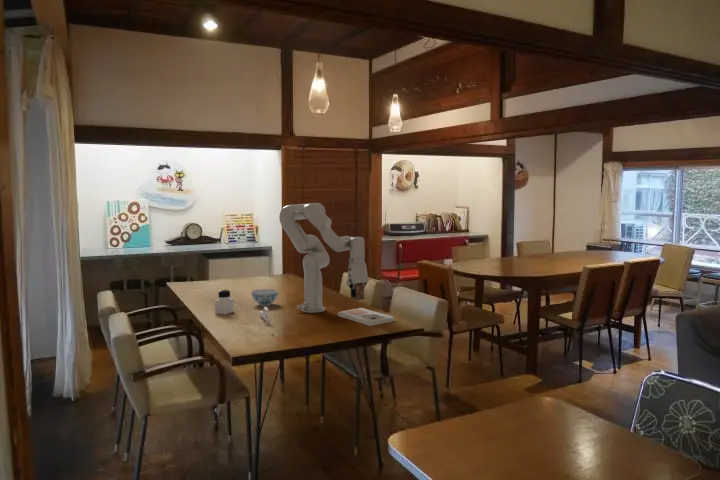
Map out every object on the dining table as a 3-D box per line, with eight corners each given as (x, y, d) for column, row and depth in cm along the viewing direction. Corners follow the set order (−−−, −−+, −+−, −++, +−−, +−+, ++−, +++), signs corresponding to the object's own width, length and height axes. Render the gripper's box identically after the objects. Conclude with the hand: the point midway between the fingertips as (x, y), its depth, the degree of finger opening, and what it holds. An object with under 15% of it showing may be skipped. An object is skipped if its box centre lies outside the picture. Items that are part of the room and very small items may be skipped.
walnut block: (356, 300, 274) (356, 285, 273) (350, 299, 277) (350, 283, 277) (364, 299, 277) (364, 283, 276) (358, 297, 281) (358, 282, 280)
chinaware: (272, 308, 294) (272, 294, 293) (247, 307, 297) (247, 293, 296) (282, 302, 308) (282, 289, 308) (257, 301, 311) (257, 288, 311)
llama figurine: (270, 336, 262) (262, 315, 276) (271, 317, 257) (263, 296, 271) (266, 336, 261) (258, 315, 276) (268, 317, 256) (260, 297, 271)
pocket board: (370, 326, 258) (370, 321, 257) (337, 315, 278) (337, 311, 278) (394, 320, 268) (394, 316, 268) (361, 311, 288) (361, 307, 288)
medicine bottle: (234, 311, 286) (233, 289, 285) (226, 314, 279) (226, 292, 278) (222, 310, 289) (222, 288, 287) (214, 313, 282) (214, 291, 281)
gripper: (348, 263, 267) (349, 299, 269) (374, 260, 278) (374, 294, 279) (339, 261, 273) (340, 296, 275) (365, 258, 283) (365, 292, 285)
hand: (357, 295), depth 277 cm, fingers closed on walnut block, 5 cm apart
